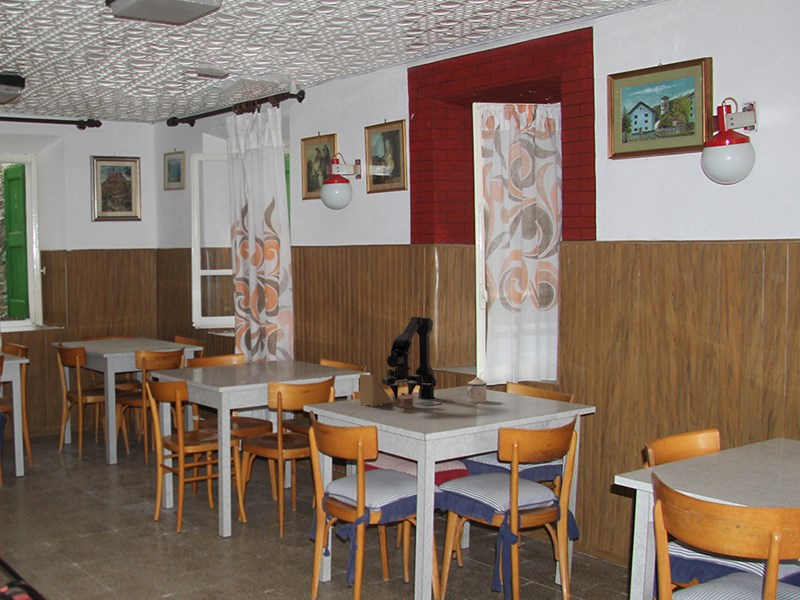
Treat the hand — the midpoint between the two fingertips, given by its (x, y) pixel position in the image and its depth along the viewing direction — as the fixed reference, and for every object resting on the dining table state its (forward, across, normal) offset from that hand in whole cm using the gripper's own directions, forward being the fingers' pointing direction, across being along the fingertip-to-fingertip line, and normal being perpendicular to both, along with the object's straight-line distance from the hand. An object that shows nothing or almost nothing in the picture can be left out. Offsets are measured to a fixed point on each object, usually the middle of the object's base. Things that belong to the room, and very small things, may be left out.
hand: (402, 398), depth 423 cm
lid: (0, 0, 0) cm, 0 cm away
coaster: (+4, -14, 0) cm, 15 cm away
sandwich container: (+4, +6, -15) cm, 16 cm away
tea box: (+4, 0, 0) cm, 4 cm away
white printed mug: (+4, -36, +7) cm, 37 cm away
